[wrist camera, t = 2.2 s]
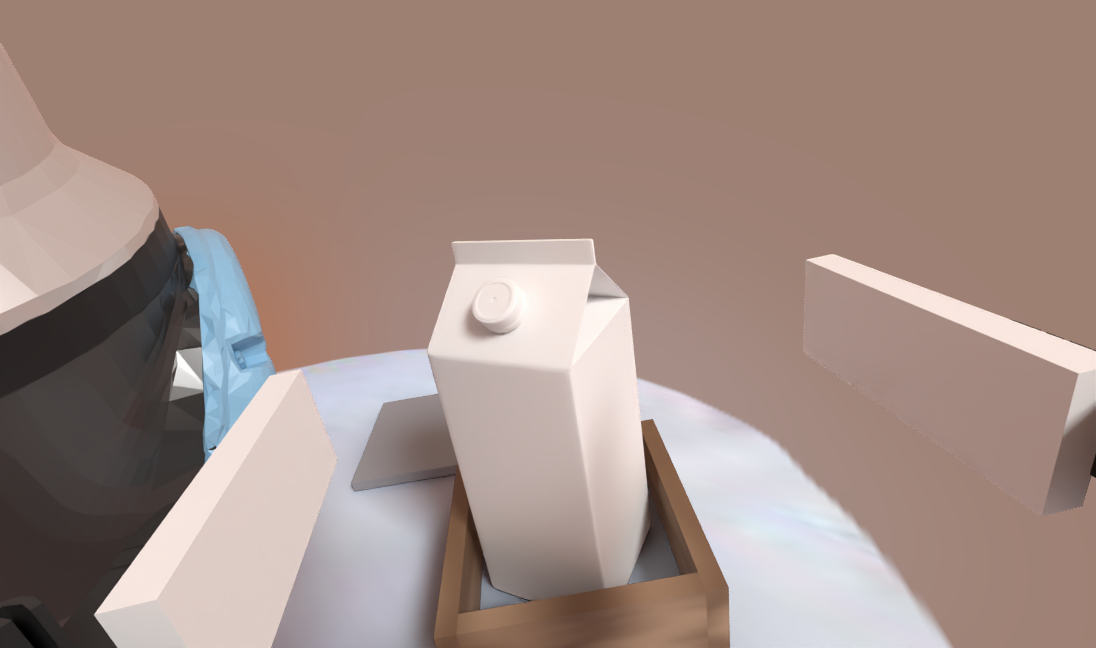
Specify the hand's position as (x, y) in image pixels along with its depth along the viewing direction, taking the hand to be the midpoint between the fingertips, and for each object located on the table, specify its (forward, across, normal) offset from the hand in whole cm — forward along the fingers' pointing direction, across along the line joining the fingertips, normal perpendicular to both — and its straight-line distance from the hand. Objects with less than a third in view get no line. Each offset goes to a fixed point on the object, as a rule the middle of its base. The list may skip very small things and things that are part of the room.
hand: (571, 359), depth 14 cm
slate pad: (+26, -9, -18) cm, 33 cm away
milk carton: (+11, 0, -18) cm, 21 cm away
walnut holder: (+11, 0, -18) cm, 21 cm away
